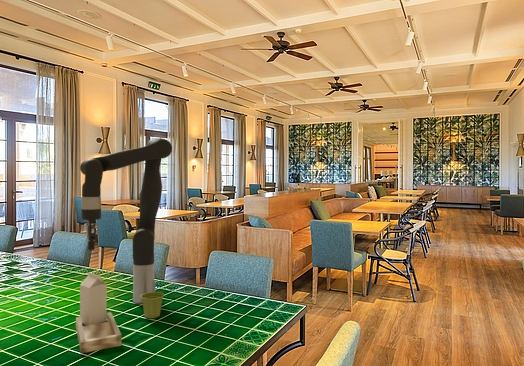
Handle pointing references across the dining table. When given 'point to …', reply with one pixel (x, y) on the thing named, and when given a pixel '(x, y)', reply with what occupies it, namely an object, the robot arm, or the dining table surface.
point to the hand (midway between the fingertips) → (91, 249)
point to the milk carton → (93, 300)
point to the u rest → (98, 335)
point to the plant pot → (152, 304)
